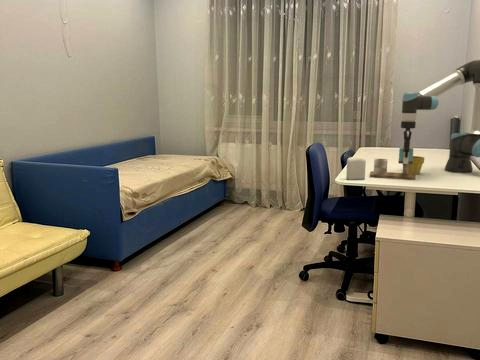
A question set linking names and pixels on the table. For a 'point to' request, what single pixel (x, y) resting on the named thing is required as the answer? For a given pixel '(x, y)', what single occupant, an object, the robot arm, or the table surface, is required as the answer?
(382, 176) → the peg board
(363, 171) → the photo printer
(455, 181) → the table surface
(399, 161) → the teal sleeve
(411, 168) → the plant pot
